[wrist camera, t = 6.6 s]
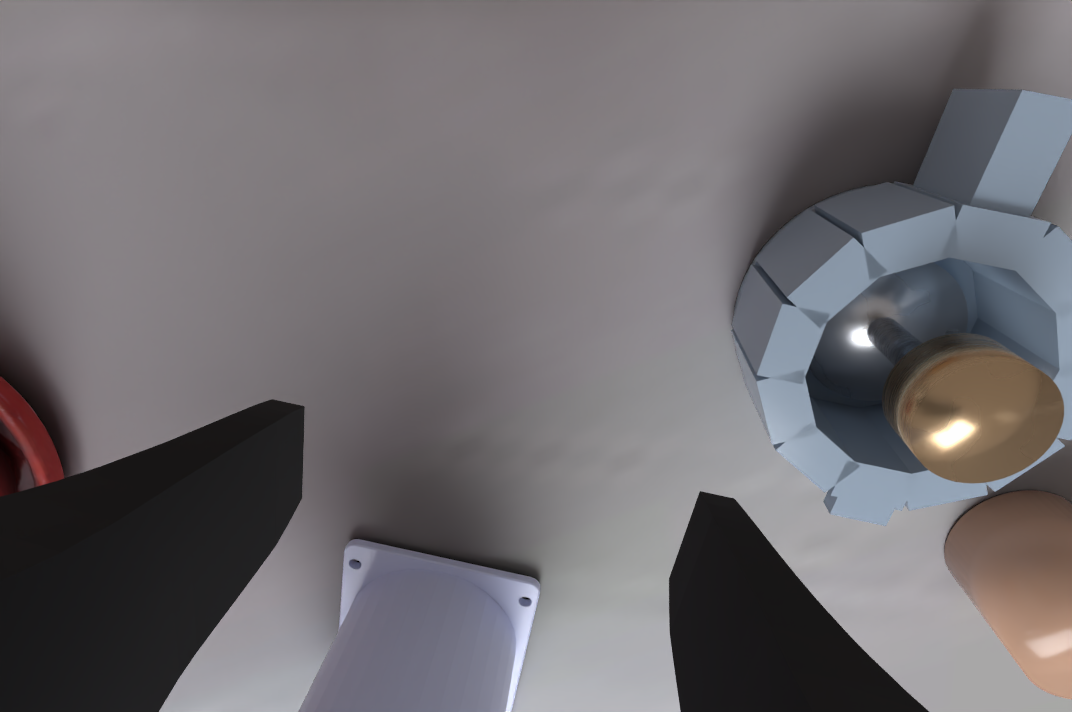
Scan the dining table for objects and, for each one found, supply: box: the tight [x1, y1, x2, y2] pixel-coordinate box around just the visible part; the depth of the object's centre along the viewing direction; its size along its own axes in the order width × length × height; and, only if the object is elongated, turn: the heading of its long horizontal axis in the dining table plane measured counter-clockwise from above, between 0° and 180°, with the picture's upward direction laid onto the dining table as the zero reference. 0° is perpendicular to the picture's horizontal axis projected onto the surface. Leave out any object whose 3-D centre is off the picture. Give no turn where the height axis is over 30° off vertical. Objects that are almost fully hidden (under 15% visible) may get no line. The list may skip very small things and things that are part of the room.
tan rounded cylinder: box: [944, 490, 1072, 699], centre depth 20 cm, size 5×5×4 cm
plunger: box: [809, 262, 1064, 483], centre depth 16 cm, size 5×5×6 cm
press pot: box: [731, 89, 1072, 526], centre depth 18 cm, size 11×8×4 cm
